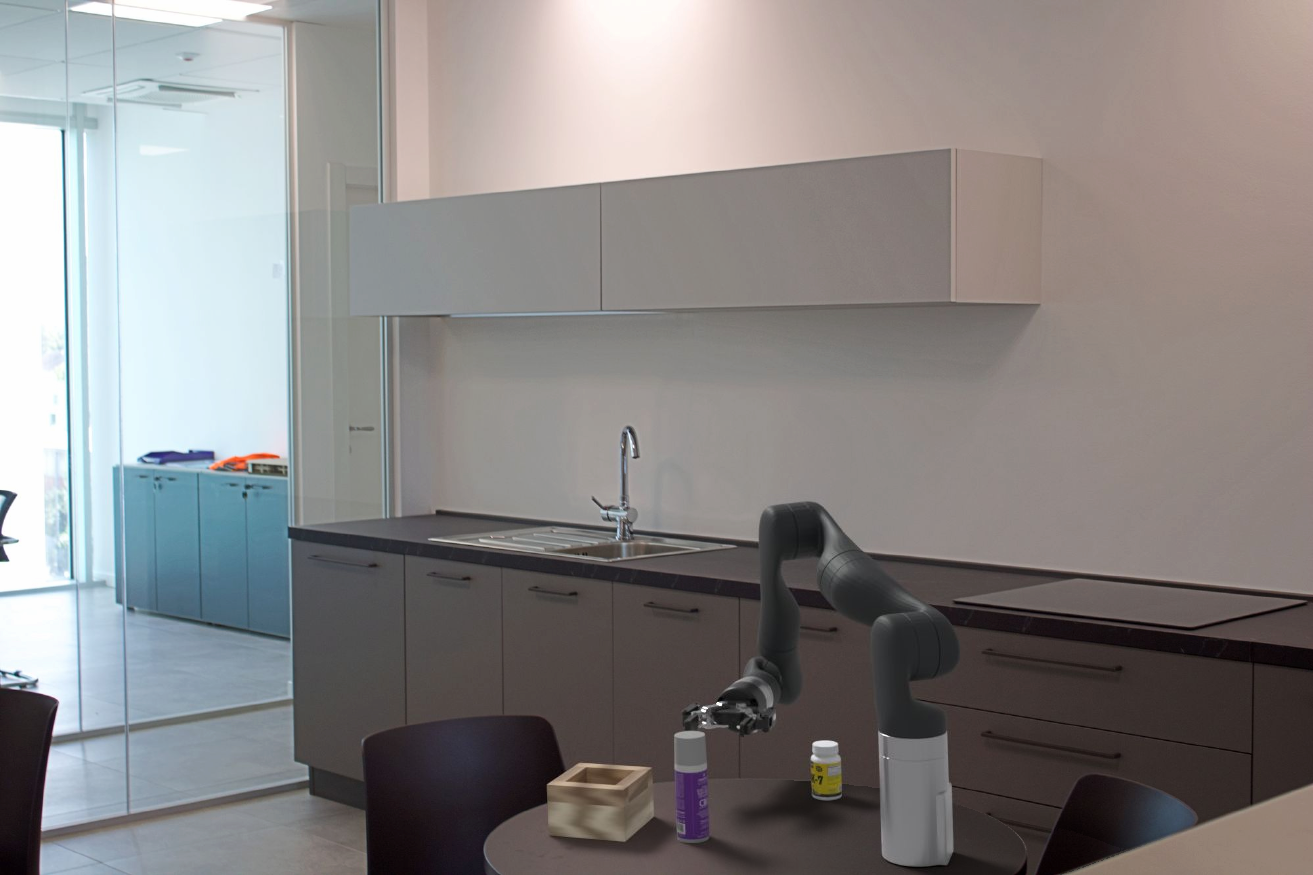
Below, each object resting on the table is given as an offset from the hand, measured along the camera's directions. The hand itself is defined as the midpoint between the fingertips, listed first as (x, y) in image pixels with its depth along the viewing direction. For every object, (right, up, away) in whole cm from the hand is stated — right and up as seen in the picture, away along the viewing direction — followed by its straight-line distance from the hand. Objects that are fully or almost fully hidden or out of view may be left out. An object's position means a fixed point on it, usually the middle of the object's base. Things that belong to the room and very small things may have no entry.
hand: (715, 729), depth 210 cm
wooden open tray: (-17, -13, -4) cm, 22 cm away
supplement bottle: (+18, -12, +6) cm, 22 cm away
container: (-4, -13, -11) cm, 18 cm away
